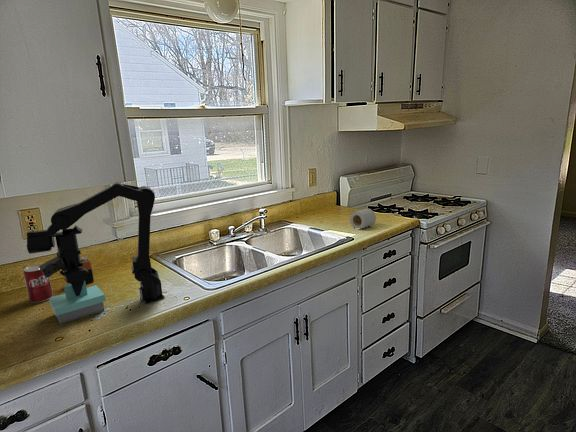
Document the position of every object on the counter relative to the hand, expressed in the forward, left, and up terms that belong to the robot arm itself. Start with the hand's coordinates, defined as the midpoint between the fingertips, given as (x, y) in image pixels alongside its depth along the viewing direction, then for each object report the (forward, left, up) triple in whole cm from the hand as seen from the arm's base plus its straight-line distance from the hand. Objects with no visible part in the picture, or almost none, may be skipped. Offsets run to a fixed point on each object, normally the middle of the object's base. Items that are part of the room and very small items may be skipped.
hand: (76, 293), depth 125 cm
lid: (0, 0, -3) cm, 3 cm away
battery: (-7, -27, -7) cm, 28 cm away
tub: (0, 0, -7) cm, 7 cm away
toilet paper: (-143, +1, -7) cm, 143 cm away
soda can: (+8, -22, -7) cm, 24 cm away
